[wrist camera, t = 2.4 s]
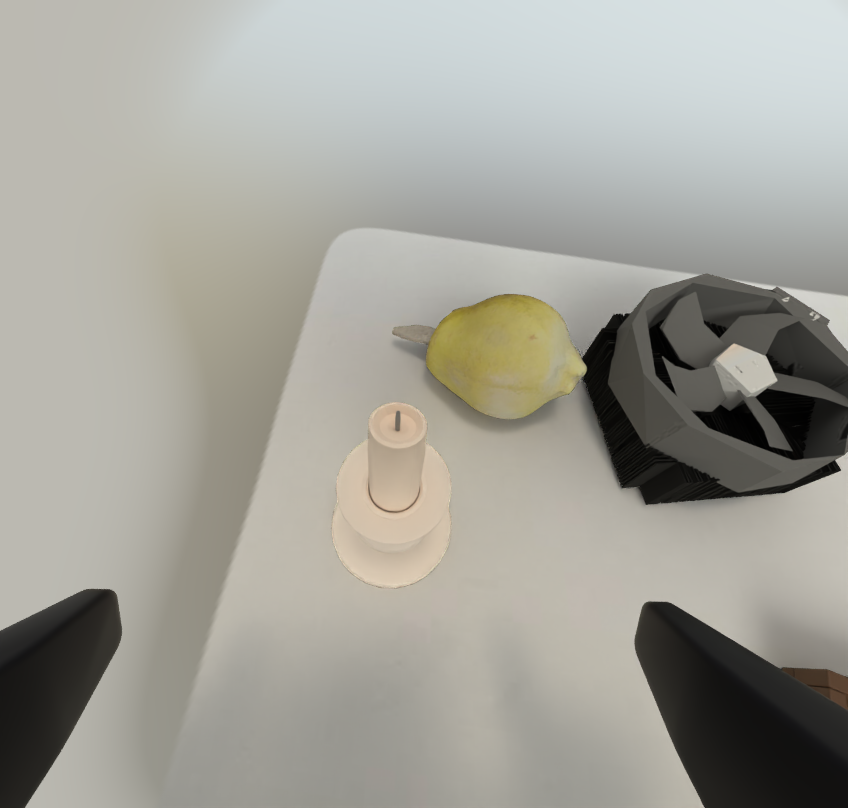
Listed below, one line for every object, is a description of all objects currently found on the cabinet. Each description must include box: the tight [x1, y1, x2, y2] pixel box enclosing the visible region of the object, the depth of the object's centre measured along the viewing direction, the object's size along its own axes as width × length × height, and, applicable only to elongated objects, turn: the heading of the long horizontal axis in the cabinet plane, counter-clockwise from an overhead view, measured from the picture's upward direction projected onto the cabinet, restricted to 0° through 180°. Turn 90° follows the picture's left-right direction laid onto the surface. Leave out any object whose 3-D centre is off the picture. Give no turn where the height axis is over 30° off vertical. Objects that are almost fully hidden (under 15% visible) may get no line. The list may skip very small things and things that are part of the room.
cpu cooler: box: [582, 274, 848, 505], centre depth 21 cm, size 10×6×10 cm
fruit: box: [392, 294, 587, 419], centre depth 21 cm, size 6×6×10 cm
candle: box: [331, 402, 451, 588], centre depth 14 cm, size 5×5×10 cm
